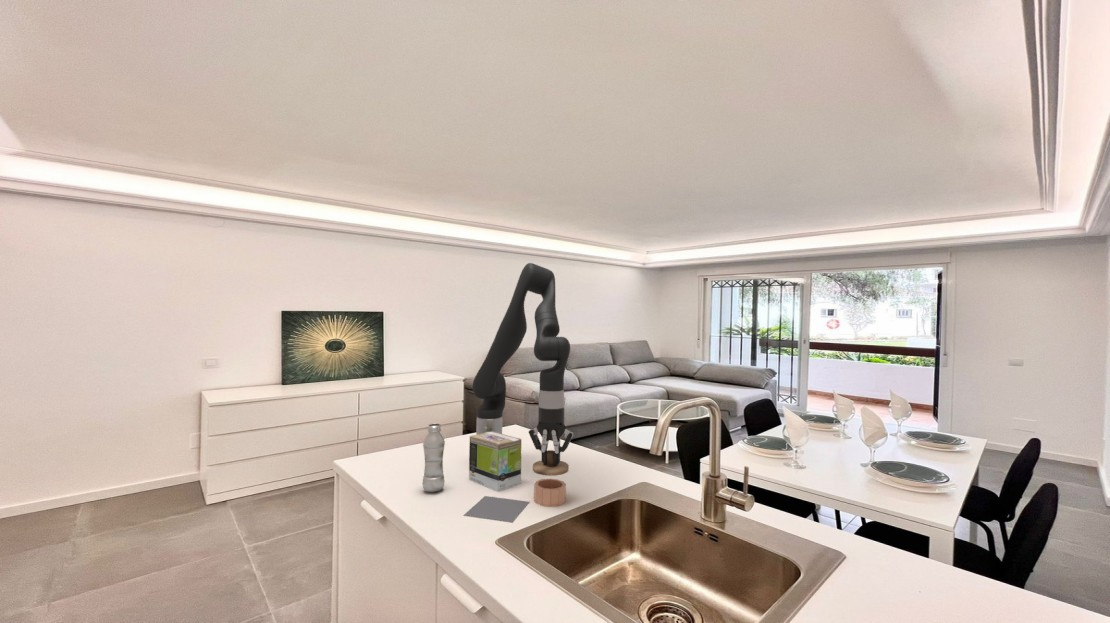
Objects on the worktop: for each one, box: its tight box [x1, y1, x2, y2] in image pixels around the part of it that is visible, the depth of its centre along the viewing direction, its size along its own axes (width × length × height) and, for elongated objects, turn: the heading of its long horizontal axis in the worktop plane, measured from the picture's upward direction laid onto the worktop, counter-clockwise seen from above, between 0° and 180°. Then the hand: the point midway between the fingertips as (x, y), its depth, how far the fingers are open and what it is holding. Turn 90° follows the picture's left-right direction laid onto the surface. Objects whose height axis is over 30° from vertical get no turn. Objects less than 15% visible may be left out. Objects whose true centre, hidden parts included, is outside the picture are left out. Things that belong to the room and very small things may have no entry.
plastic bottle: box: [421, 423, 446, 493], centre depth 142 cm, size 6×7×20 cm
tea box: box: [468, 431, 522, 492], centre depth 150 cm, size 15×10×15 cm
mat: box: [462, 495, 531, 524], centre depth 129 cm, size 14×14×1 cm
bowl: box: [533, 478, 567, 507], centre depth 135 cm, size 9×9×5 cm
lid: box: [532, 449, 570, 477], centre depth 136 cm, size 10×10×5 cm
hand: (550, 464), depth 136 cm, fingers closed on lid, 2 cm apart
